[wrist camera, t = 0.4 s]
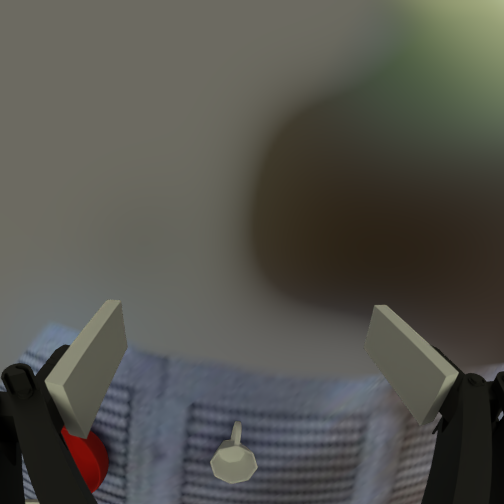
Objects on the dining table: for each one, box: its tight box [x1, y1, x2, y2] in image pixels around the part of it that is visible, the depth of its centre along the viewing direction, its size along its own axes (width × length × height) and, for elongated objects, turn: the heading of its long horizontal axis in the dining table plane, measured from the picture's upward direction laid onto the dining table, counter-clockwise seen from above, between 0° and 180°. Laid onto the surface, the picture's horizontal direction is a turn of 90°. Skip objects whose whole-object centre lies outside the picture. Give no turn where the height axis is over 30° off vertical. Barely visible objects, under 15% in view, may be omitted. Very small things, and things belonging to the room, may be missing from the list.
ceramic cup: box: [61, 425, 109, 493], centre depth 31 cm, size 13×17×10 cm
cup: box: [210, 421, 258, 484], centre depth 38 cm, size 7×10×8 cm
